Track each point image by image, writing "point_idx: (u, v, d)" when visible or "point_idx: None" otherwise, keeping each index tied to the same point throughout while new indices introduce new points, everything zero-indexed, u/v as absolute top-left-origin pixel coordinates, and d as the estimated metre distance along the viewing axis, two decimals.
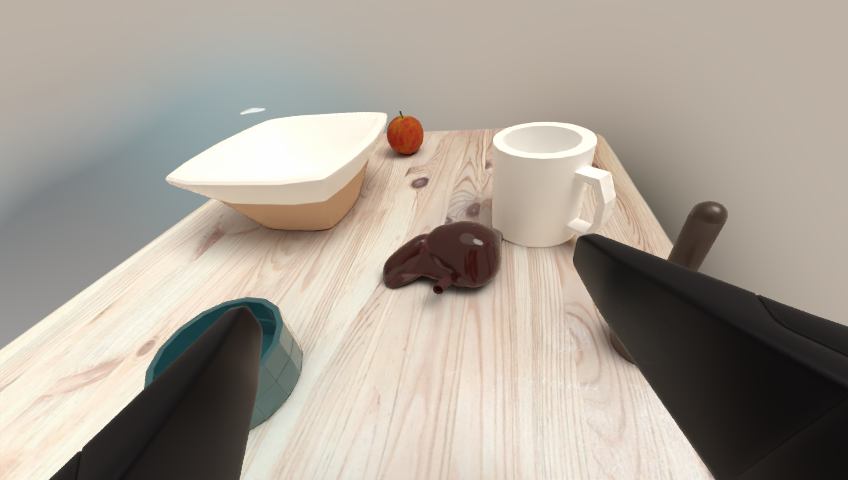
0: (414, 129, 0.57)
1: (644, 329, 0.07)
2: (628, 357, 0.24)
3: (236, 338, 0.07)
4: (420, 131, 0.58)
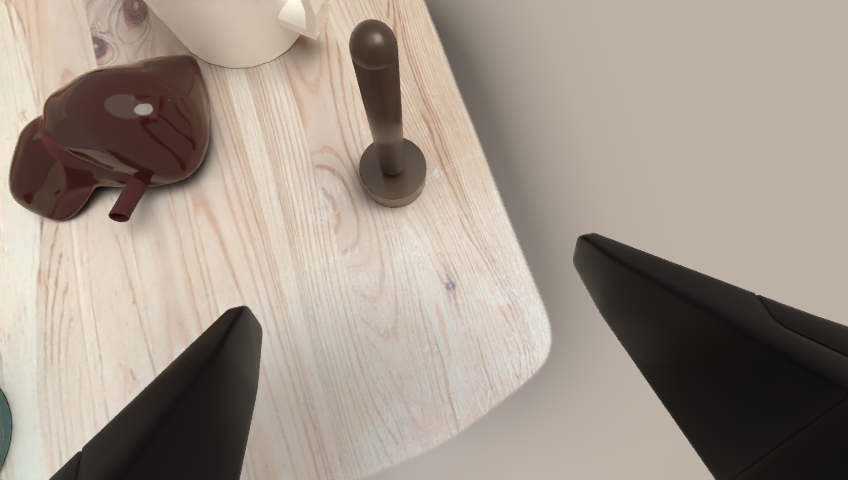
0: None
1: (644, 329, 0.07)
2: (382, 203, 0.22)
3: (236, 338, 0.07)
4: None
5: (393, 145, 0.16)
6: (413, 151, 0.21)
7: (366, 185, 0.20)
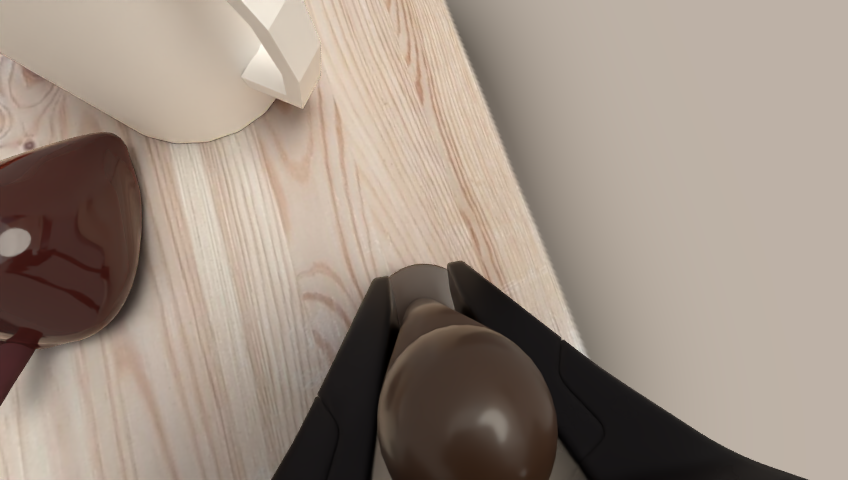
0: None
1: None
2: None
3: (393, 304, 0.07)
4: None
5: None
6: None
7: None
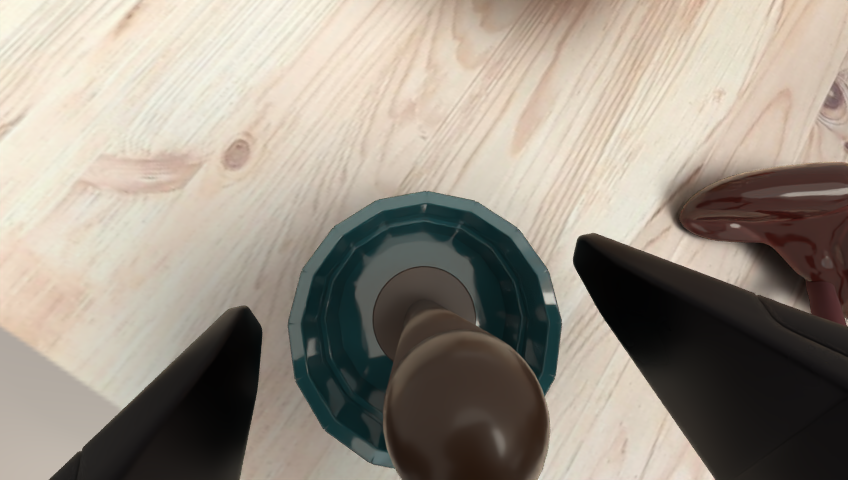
0: None
1: (644, 329, 0.07)
2: None
3: (236, 338, 0.07)
4: None
5: None
6: (455, 291, 0.13)
7: (383, 349, 0.13)
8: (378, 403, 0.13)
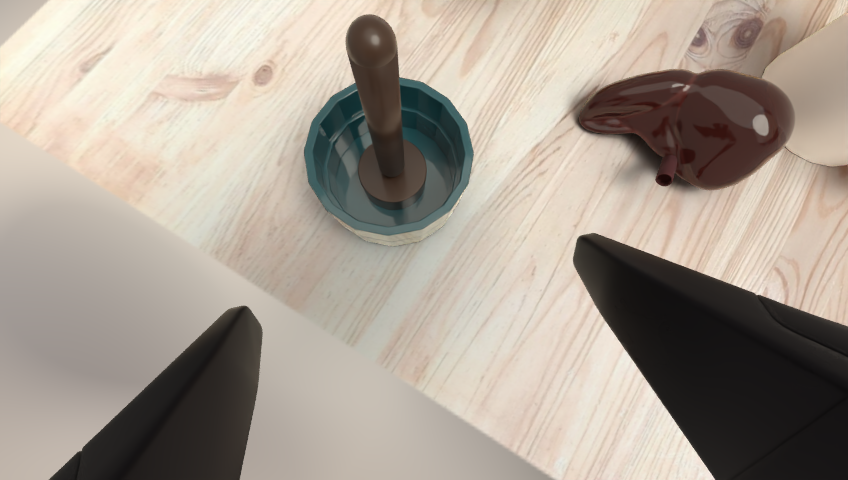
0: None
1: (644, 329, 0.07)
2: (381, 206, 0.21)
3: (236, 338, 0.07)
4: None
5: (393, 147, 0.15)
6: (413, 152, 0.20)
7: (365, 187, 0.20)
8: None
